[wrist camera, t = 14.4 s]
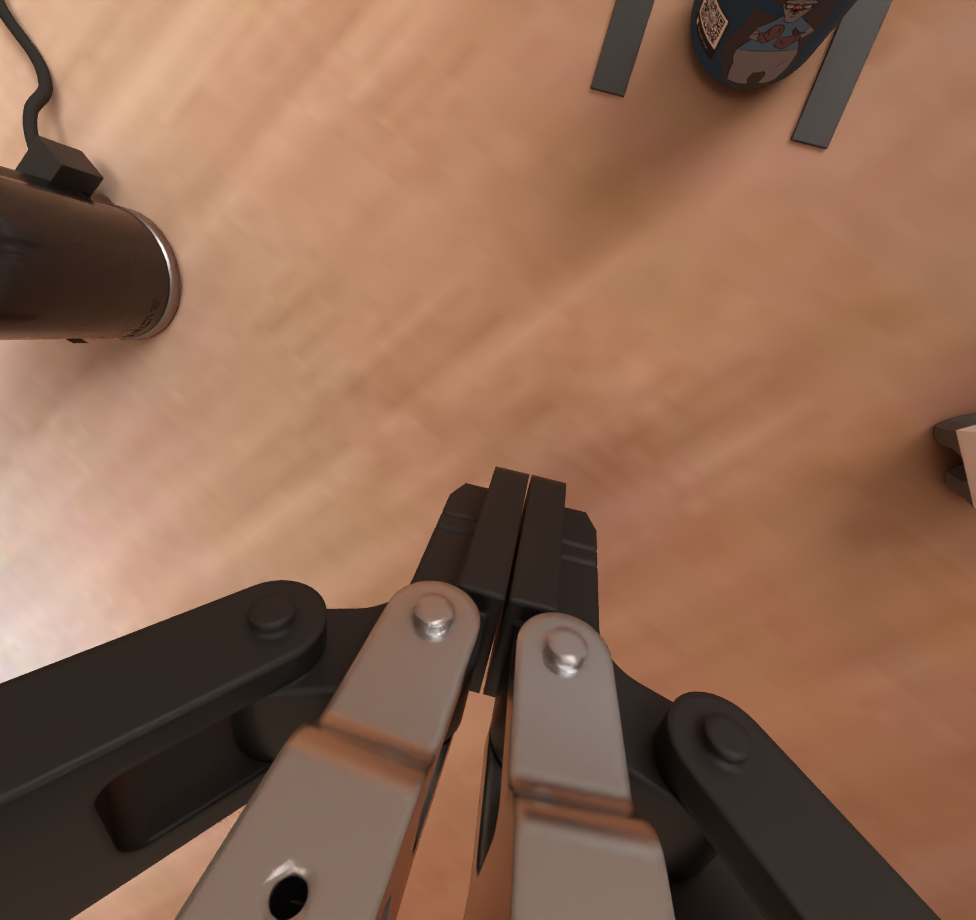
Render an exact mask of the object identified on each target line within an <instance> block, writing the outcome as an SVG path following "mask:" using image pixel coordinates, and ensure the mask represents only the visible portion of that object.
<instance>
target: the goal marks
mask: <svg viewBox="0 0 976 920" xmlns="http://www.w3.org/2000/svg"><path fill="white" fill-rule="evenodd" d="M891 2H892V0H857V2H856V3H855V4H854V5H853V6H852V8H851V9H850V10H849V11H848V12H847V13H846V15H845V16H844V17H843V18H842V19H841V21H840V23H839V26H838V28H837V30H836V33H835V35H834V38H833V40H832V42H831V45H830V47H829V50H828V52H827V54H826V57H825V59H824V62H823V64H822V66H821V69H820V71H819V74H818V76H817V78H816V81H815V83H814V86H813V88H812V90H811V93H810V95H809V98H808V100H807V102H806V105H805V107H804V110H803V112H802V114H801V117H800V119H799V122H798V124H797V126H796V129H795V131H794V134H793V136H792V138H791V140H793V141H797V142H801V143H805V144H809V145H812V146H816V147H820V148H824V149H827V148H828V146H829V143H830V141H831V139H832V137H833V134H834V132H835V130H836V127H837V125H838V123H839V121H840V118H841V116H842V114H843V111H844V109H845V107H846V105H847V102H848V100H849V98H850V96H851V93H852V91H853V89H854V86H855V84H856V82H857V80H858V77H859V75H860V73H861V70H862V68H863V66H864V64H865V61H866V59H867V57H868V55H869V52H870V50H871V48H872V45H873V43H874V41H875V39H876V36H877V34H878V32H879V29H880V27H881V25H882V23H883V20H884V18H885V16H886V14H887V11H888V9H889V7H890V4H891ZM653 3H654V0H617V1H616V4H615V8H614V11H613V15H612V18H611V21H610V25H609V28H608V31H607V35H606V38H605V41H604V45H603V48H602V51H601V55H600V58H599V61H598V65H597V68H596V72H595V75H594V78H593V82H592V85H591V89H595V90H599V91H602V92H606V93H610V94H614V95H618V96H622V97H624V94H625V91H626V88H627V85H628V81H629V78H630V75H631V72H632V69H633V66H634V63H635V59H636V56H637V53H638V50H639V47H640V44H641V40H642V37H643V34H644V31H645V28H646V25H647V22H648V18H649V15H650V12H651V9H652V6H653Z"/></svg>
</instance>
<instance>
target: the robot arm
mask: <svg viewBox="0 0 976 920" xmlns="http://www.w3.org/2000/svg"><path fill="white" fill-rule="evenodd" d="M0 18H1V19H2V21H3V22H4V23H5V25H6V26H7V28H8V29H9V30H10V32H11V33H12V34H13V36H14V37H15V38H16V40H17V41H18V42H19V44H20V45H21V46H22V48H23V49H24V50H25V52H26V53H27V55H28V56H29V58H30V60H31V62H32V64H33V66H34V68H35V70H36V74H37V77H38V83H39V86H38V88H37V90H36V91H35V92H34V93H33V94H32V95H31V96H30V97H29V98H28V100H27V101H26V103H25V105H24V110H23V130H24V135H25V139H26V143H27V147H28V151H27V152H26V154H25V156H24V157H23V159H22V160H21V162H20V163H19V165H18V166H17V168H16V169H15V170H12V169H9V168H5V167H2V166H0V340H34V339H66V340H68V341H70V342H72V343H88V342H86V341H84V340H82V339H106V338H118V339H126V340H127V339H145V338H149V337H152V336H154V335H156V334H158V333H159V332H161V331H162V330H163V329H164V328H165V327H166V326H167V325H168V324H169V323H170V321H171V320H172V318H173V316H174V314H175V312H176V310H177V307H178V303H179V298H180V274H179V268H178V265H177V261H176V258H175V255H174V253H173V251H172V248H171V247H170V245H169V243H168V241H167V240H166V238H165V237H164V235H163V234H162V233H161V231H160V230H159V229H158V228H157V227H156V226H155V225H154V224H153V223H152V222H151V221H150V220H149V219H147V218H146V217H145V216H143V215H141V214H140V213H138V212H136V211H133V210H131V209H128V208H124V207H121V206H117V205H114V204H113V203H112V202H111V201H110V199H109V198H108V197H106V196H103V195H100V194H96V193H93V192H94V191H95V190H96V188H97V187H98V185H99V184H100V183H101V181H102V180H103V177H102V175H101V174H100V173H99V172H98V170H97V169H96V168H95V167H94V166H93V164H92V163H91V162H90V161H89V160H88V158H87V157H86V156H85V155H84V154H83V152H82V151H80V150H77V149H74V148H71V147H69V146H66V145H63V144H60V143H58V142H55V141H52V140H49V139H47V138H44V137H41V136H39V135H38V128H37V118H38V113H39V111H40V110H41V109H42V108H43V107H44V106H45V105H46V104H47V102H48V101H49V100H50V98H51V96H52V91H53V86H52V80H51V76H50V73H49V70H48V68H47V66H46V63H45V61H44V60H43V58H42V56H41V55H40V53H39V52H38V50H37V49H36V47H35V46H34V45H33V43H32V42H31V40H30V39H29V38H28V36H27V35H26V34H25V33H24V31H23V30H22V28H21V27H20V26H19V24H18V23H17V22H16V20H15V19H14V17H13V16H12V14H11V13H10V11H9V9H8V7H7V6H6V4H5V2H4V0H0ZM528 478H529V474H526V473H522V472H517V471H513V470H509V469H505V468H501V467H497V466H496V467H495V470H494V473H493V476H492V480H491V483H490V486H489V489H488V488H483V487H479V486H475V485H471V484H467V483H465V484H464V485H463V486H461V487H460V488H458V489H457V490H456V491H454V492H453V493H451V494H450V496H449V498H448V500H447V502H446V505H445V507H444V509H443V512H442V514H441V516H440V518H439V521H438V523H437V526H436V528H435V530H434V532H433V534H432V536H431V539H430V541H429V543H428V545H427V548H426V550H425V552H424V554H423V557H422V559H421V561H420V563H419V566H418V568H417V570H416V573H415V575H414V577H413V579H412V581H411V583H410V585H408V586H405V587H403V588H402V589H400V590H399V591H398V592H397V593H395V594H394V595H393V596H392V598H391V599H390V601H389V602H387V603H385V604H381V605H378V606H374V607H369V608H359V609H326V605H325V602H324V600H323V598H322V597H321V595H320V594H319V593H318V592H317V591H316V590H314V589H313V588H311V587H309V586H307V585H305V584H303V583H299V582H295V581H287V580H278V581H269V582H264V583H261V584H257V585H254V586H252V587H249V588H246V589H244V590H241V591H239V592H236V593H234V594H231V595H228V596H226V597H223V598H221V599H218V600H215V601H213V602H210V603H208V604H205V605H202V606H200V607H197V608H195V609H192V610H190V611H187V612H184V613H182V614H179V615H177V616H174V617H171V618H169V619H166V620H164V621H161V622H158V623H156V624H153V625H151V626H148V627H146V628H143V629H140V630H138V631H135V632H133V633H130V634H127V635H125V636H122V637H120V638H117V639H114V640H112V641H109V642H107V643H104V644H102V645H99V646H96V647H94V648H91V649H89V650H86V651H83V652H81V653H78V654H76V655H73V656H70V657H68V658H65V659H63V660H60V661H58V662H55V663H52V664H50V665H47V666H45V667H42V668H39V669H37V670H34V671H32V672H29V673H26V674H24V675H21V676H19V677H16V678H14V679H11V680H8V681H6V682H3V683H1V684H0V920H70V919H71V918H73V917H75V916H76V915H78V914H79V913H81V912H82V911H84V910H85V909H87V908H88V907H90V906H91V905H93V904H94V903H96V902H97V901H99V900H100V899H102V898H104V897H105V896H107V895H108V894H110V893H111V892H113V891H114V890H116V889H117V888H119V887H120V886H122V885H123V884H125V883H126V882H128V881H129V880H131V879H133V878H134V877H136V876H137V875H139V874H140V873H142V872H143V871H145V870H146V869H148V868H149V867H151V866H152V865H154V864H155V863H157V862H158V861H160V860H162V859H163V858H165V857H166V856H168V855H169V854H171V853H172V852H174V851H175V850H177V849H178V848H180V847H181V846H183V845H184V844H186V843H187V842H189V841H191V840H192V839H194V838H195V837H197V836H198V835H200V834H201V833H203V832H204V831H206V830H207V829H209V828H210V827H212V826H213V825H215V824H216V823H218V822H220V821H221V820H223V819H224V818H226V817H227V816H229V815H230V814H232V813H233V812H235V811H236V810H238V809H239V808H241V807H242V806H244V805H245V804H247V805H246V806H245V808H244V809H243V811H242V813H241V814H240V816H239V817H238V819H237V821H236V822H235V824H234V825H233V827H232V829H231V830H230V832H229V833H228V835H227V837H226V838H225V840H224V841H223V843H222V845H221V846H220V848H219V849H218V851H217V853H216V854H215V856H214V857H213V859H212V860H211V862H210V864H209V865H208V867H207V868H206V870H205V872H204V873H203V875H202V876H201V878H200V880H199V881H198V883H197V884H196V886H195V888H194V889H193V891H192V892H191V894H190V896H189V897H188V899H187V900H186V902H185V904H184V905H183V907H182V908H181V910H180V912H179V913H178V915H177V916H176V918H175V920H396V918H397V914H398V911H399V908H400V904H401V901H402V898H403V894H404V891H405V887H406V883H407V880H408V876H409V873H410V870H411V867H412V863H413V860H414V857H415V854H416V851H417V848H418V844H419V841H420V838H421V835H422V832H423V829H424V826H425V823H426V820H427V817H428V814H429V810H430V807H431V804H432V801H433V798H434V795H435V792H436V789H437V786H438V783H439V779H440V776H441V773H442V770H443V767H444V764H445V761H446V758H447V755H448V752H449V748H450V745H451V742H452V739H453V736H454V733H455V731H456V730H457V729H458V727H459V725H460V723H461V720H462V716H463V712H464V708H465V704H466V700H467V696H468V692H469V691H473V692H477V693H479V692H480V688H481V685H482V681H483V677H484V674H485V670H486V666H487V662H488V659H489V655H490V651H491V648H492V644H493V648H492V653H491V658H490V662H489V667H488V672H487V677H486V682H485V687H484V692H483V694H485V695H489V696H492V697H496V698H495V704H494V710H493V715H492V721H491V725H490V728H489V731H488V735H487V738H486V742H485V748H484V757H483V767H482V776H481V785H480V795H479V804H478V814H477V823H476V832H475V842H474V851H473V861H472V870H471V878H470V886H469V892H468V898H467V903H466V908H465V913H464V918H463V920H941V919H940V918H939V917H938V916H937V915H936V914H935V913H934V912H933V911H932V909H931V908H930V907H929V906H928V905H927V904H926V903H925V902H924V901H923V900H922V899H921V898H920V897H919V896H918V895H917V893H916V892H915V891H914V890H913V889H912V888H911V887H910V886H909V885H908V884H907V883H906V882H905V881H904V880H903V878H902V877H901V876H900V875H899V874H898V873H897V872H896V871H895V870H894V869H893V868H892V867H891V866H890V865H889V864H888V862H887V861H886V860H885V859H884V858H883V857H882V856H881V855H880V854H879V853H878V852H877V851H876V850H875V849H874V848H873V846H872V845H871V844H870V843H869V842H868V841H867V840H866V839H865V838H864V837H863V836H862V835H861V834H860V833H859V832H858V830H857V829H856V828H855V827H854V826H853V825H852V824H851V823H850V822H849V821H848V820H847V819H846V818H845V817H844V816H843V814H842V813H841V812H840V811H839V810H838V809H837V808H836V807H835V806H834V805H833V804H832V803H831V802H830V801H829V800H828V798H827V797H826V796H825V795H824V794H823V793H822V792H821V791H820V790H819V789H818V788H817V787H816V786H815V785H814V783H813V782H812V781H811V780H810V779H809V778H808V777H807V776H806V775H805V774H804V773H803V772H802V771H801V770H800V769H799V767H798V766H797V765H796V764H795V763H794V762H793V761H792V760H791V759H790V758H789V757H788V756H787V755H786V754H785V753H784V751H783V750H782V749H781V748H780V747H779V746H778V745H777V744H776V743H775V742H774V741H773V740H772V739H771V738H770V737H769V735H768V734H767V733H766V732H765V731H764V730H763V729H762V728H761V727H760V726H759V725H758V724H757V723H756V722H755V721H754V720H753V719H752V718H751V717H750V716H749V715H748V714H747V713H746V712H744V711H743V710H742V709H741V708H739V707H738V706H736V705H735V704H733V703H732V702H730V701H728V700H726V699H724V698H722V697H720V696H717V695H714V694H711V693H706V692H688V693H686V694H683V695H681V696H679V697H678V698H677V699H676V700H675V701H674V702H672V701H670V700H668V699H666V698H665V697H663V696H661V695H659V694H658V693H656V692H654V691H652V690H651V689H649V688H647V687H645V686H644V685H642V684H640V683H638V682H637V681H635V680H634V679H632V678H631V677H630V676H628V675H627V674H626V673H625V672H623V671H622V670H621V669H620V668H619V667H618V666H617V665H616V664H615V662H614V661H613V660H612V657H611V653H610V651H609V648H608V646H607V644H606V643H605V641H604V640H603V638H602V637H601V636H600V631H599V607H598V572H597V553H596V550H597V537H596V529H595V527H594V526H593V524H592V522H591V521H590V519H589V517H588V515H587V514H586V512H582V511H578V510H574V509H570V508H566V507H565V495H566V483H563V482H559V481H555V480H551V479H547V478H543V477H539V476H535V475H532V477H531V480H530V484H529V488H528V491H527V495H526V499H525V494H526V489H527V484H528ZM524 499H525V503H524ZM523 504H524V507H523ZM522 509H523V511H522ZM494 636H495V638H494ZM493 640H494V643H493Z"/></svg>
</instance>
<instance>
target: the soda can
mask: <svg viewBox="0 0 976 920" xmlns="http://www.w3.org/2000/svg"><path fill="white" fill-rule="evenodd" d="M856 2H857V0H694V4H693V8H692V14H691V38H692V44H693V48H694V51H695V54H696V56H697V59H698V61H699V62H700V64H701V66H702V67H703V68H704V70H705V71H706V72H707V73H708V74H709V75H710V76H711V77H712V78H713V79H715V80H716V81H718V82H719V83H721V84H723V85H726V86H729V87H732V88H737V89H755V88H761V87H765V86H768V85H771V84H773V83H776V82H778V81H780V80H782V79H784V78H785V77H787V76H788V75H790V74H791V73H793V72H794V71H795V70H797V69H798V68H799V67H800V66H801V65H802V64H803V63H804V62H805V61H806V60H807V59H808V58H809V57H810V56H811V55H812V54H813V52H814V51H815V50H816V49H817V48H818V46H819V45H820V44H821V43H822V42H823V41H824V39H825V38H826V37H827V36H828V35H829V34H830V32H831V31H832V30H833V29H834V28H835V26H836V25H837V24H838V23H839V22H840V21H841V19H842V18H843V17H844V16H845V15H846V13H847V12H848V11H849V10H850V9H851V8H852V6H853V5H854V4H855V3H856Z"/></svg>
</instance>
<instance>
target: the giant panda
mask: <svg viewBox="0 0 976 920" xmlns="http://www.w3.org/2000/svg"><path fill="white" fill-rule="evenodd" d="M933 436H934V438H935V439H936V440H937V442H938V443H939V444H941V445H943V446H946V447H948V448H951V449H953V450H954V451H956V452H957V453H958V454H959V455H960V456H961V457H962V459H963V463H964V465H960V466H958V467H955V468H953V469H951V470H949V471H947V472H946V474H945V481H944V482H945V483H946V485H947V486H948V487H949V489H950V490H952V491H954V492H955V493H957V494H958V495H960V496H961V497H963V498H964V499H965V500H966V501H967V502H969V503H970V504H971V505H972V506H973V507H974V508H975V509H976V414H968V415H963V416H959V417H955V418H951V419H948V420H946V421H943V422H941V423H939V424H937V425H935V426H934V433H933Z"/></svg>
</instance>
